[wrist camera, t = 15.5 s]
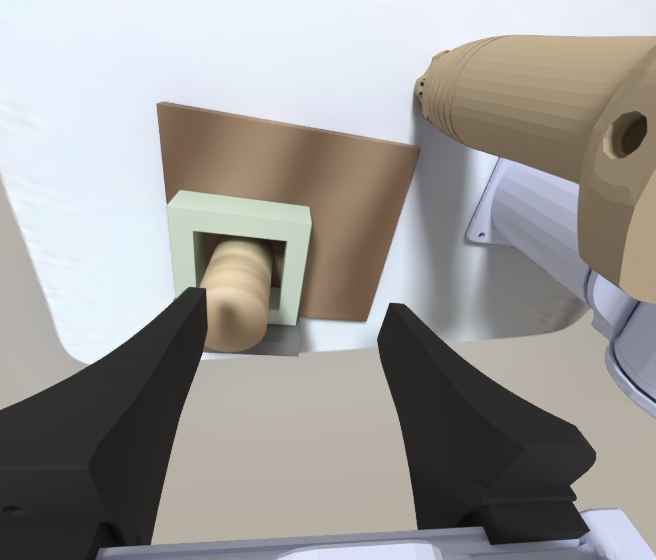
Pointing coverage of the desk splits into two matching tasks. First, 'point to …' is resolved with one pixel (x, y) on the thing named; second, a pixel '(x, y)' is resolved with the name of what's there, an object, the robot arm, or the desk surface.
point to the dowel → (238, 292)
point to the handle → (566, 131)
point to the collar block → (241, 220)
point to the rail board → (297, 200)
